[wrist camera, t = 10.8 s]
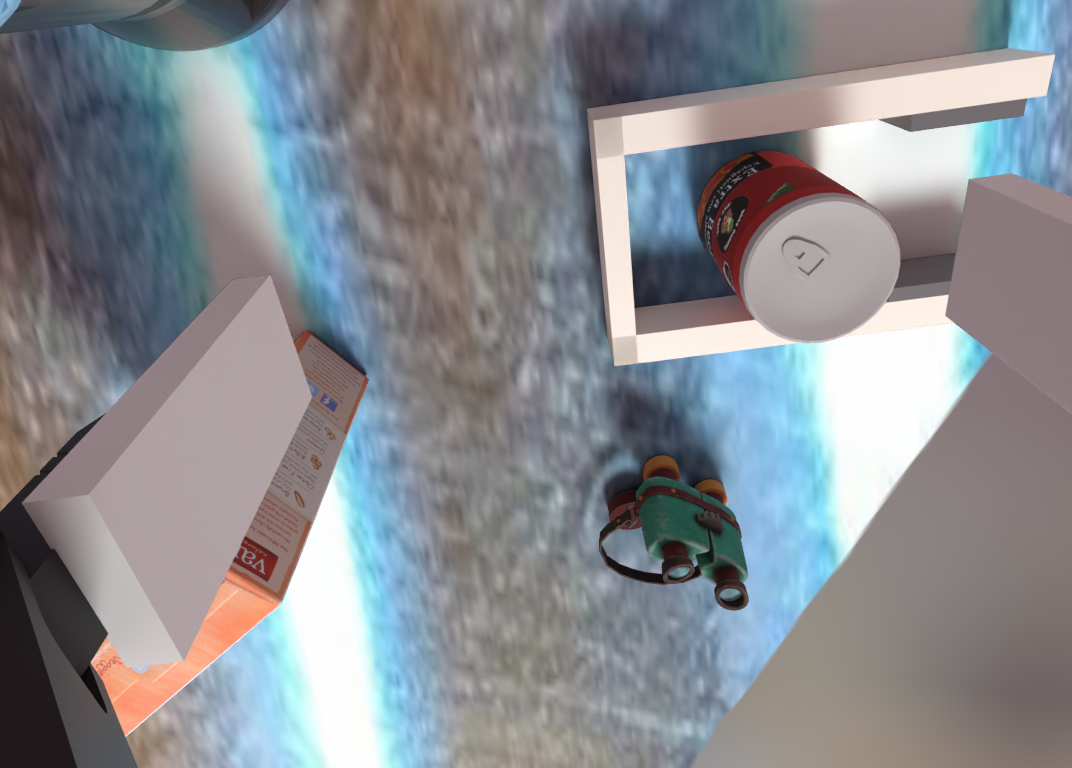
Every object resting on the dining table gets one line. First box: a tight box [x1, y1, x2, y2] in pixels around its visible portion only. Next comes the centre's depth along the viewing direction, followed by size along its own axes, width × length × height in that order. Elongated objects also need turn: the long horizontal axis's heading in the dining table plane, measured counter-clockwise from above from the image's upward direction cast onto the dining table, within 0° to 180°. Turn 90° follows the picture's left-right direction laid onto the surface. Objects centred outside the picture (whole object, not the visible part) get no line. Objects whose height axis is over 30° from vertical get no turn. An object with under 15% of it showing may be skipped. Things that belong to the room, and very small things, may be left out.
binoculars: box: [599, 455, 749, 610], centre depth 52 cm, size 9×11×10 cm
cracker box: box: [91, 330, 369, 737], centre depth 42 cm, size 14×6×21 cm, turn 134°
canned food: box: [697, 151, 900, 343], centre depth 39 cm, size 8×8×11 cm
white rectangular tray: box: [587, 48, 1055, 366], centre depth 42 cm, size 15×24×4 cm, turn 97°
